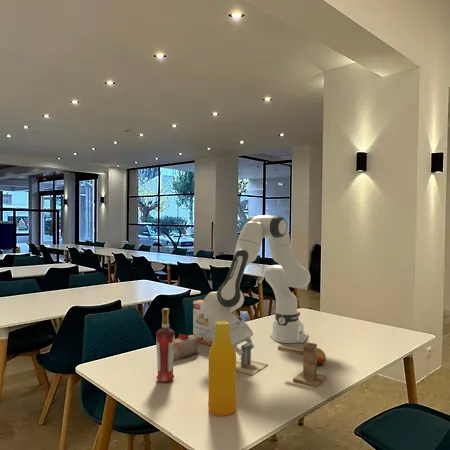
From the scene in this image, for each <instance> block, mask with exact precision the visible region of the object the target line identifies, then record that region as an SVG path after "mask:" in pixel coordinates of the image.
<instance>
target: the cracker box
mask: <svg viewBox="0 0 450 450" xmlns="http://www.w3.org/2000/svg"><path fill="white" fill-rule="evenodd" d="M203 300H204V299H197V300H193V302H192V306H193V307H192V309H193V310H192V318H193V319H192V325H193V328H192V330H193V331H192V335H194V336H195V337H197V340H198V343H199V344H203V345H206V346H210V347H212V345H213V343H214V339H215V330H216V325H215V322H214V320H213V319H211V318H210V316H209V315H208V314H207V312H206V310H205V309H204V306H203Z"/></svg>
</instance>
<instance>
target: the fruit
mask: <svg viewBox="0 0 450 450" xmlns="http://www.w3.org/2000/svg"><path fill="white" fill-rule="evenodd" d="M326 361H327V357H326V353H325V351H323V349H321V348H319V347H317V367H319V366H321V365H323V364H324V363H326Z"/></svg>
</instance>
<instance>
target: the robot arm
mask: <svg viewBox="0 0 450 450" xmlns="http://www.w3.org/2000/svg"><path fill="white" fill-rule="evenodd" d="M265 238H266V239H267V240H268V246H269V251H270V254H271V257H272V260H274V262H275V263H277V264H272V265H268V266H267V267H266V268H265V270H264V279H265V281H266V283H268V284H269V286H270V287H271V288H272V290H273V293H274V297H275V314H274V316H275V318H274V319H275V320H274V321H273V322H272V332H271V334H270V335H269V337H270V338H271V339H272V340H274V341H275V342H277V343H282V344H295V343H297V344H298V343H301V344H302V343H305V341H306V339H307V338H308V336H309V333H307V332H305V326H304V324H303V322H302V321H300V318H299V316H301V312H300V311H298V298H297V296H296V295H295V294H294V293H292V291H291V290H290V288H295V289H296V288H297V289H299V288H306V287H307V286H308V285H309V284H310V282H311V273H310V270H308V269H307V268H306V267H304V265H302V263H300V261H299V260H298V259H297V257H296V256H295V253H294V250H293V246H292V242H291V237H290V233H289V230H288V223H287V221H286V219H285V218H284V217H282V216H281V215H271V214H264V215H263V214H262V215H251V216H249V217H247V219H246V221H245V223H244V225H243V227H242V229H241V231H240V233H239V236H238V239H237V242H236V245H235V249H234V254H233V259H232V261H231V264H230V267H229V270H228V271H227V274H226V278H225V279H224V281H223V282H222V283H221V285H220V286H219V287H218V289H217V291H211V292H209V293H207V294H206V296H205V297H204V298H203V299H202V300H203V306H204V309H205V310H206V312H207V314H208V315H209V316H210V318H211V319H213V320H214V322H215V325H216V322H219V321H226V322H229V329H230V339H231V343H232V345H233V347H234V349H235V353H237V355H238V356H241V355H242V354H243V351H242V349H241V348H239V347H238V345H240V344H242V343H243V342H246V343H249V344H251V350H252V349H254V348H255V345H254V343H253V341H252V337H253V336H254V332H253V331H252V330H253V329H251V328H250V326H249V325H248V324H247V322H245V321H244V320H245V319H244V318H243V316H239V315H234V314H233V313H232V312H233V311H236V310H237V309H239V308H241V307H242V306H243V305H244V301H245V296H244V294H243V292H242V290H241V288H240V286H241V285H240V284H241V281H242V278H243V275H244V273H245V270H246V268H247V266H248V265H249V264H251V263H253V262H255V261H256V259H257V257H258V255H259V252H260V250H261V246H262V242H263V239H265Z"/></svg>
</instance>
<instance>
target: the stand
mask: <svg viewBox="0 0 450 450" xmlns="http://www.w3.org/2000/svg"><path fill="white" fill-rule="evenodd" d="M317 346H318V344H317V343H314V342H308V341H307V342H305V343H303V345H302V348H303V349H301V348H294V347H289V346H284V345H277V351H279V352H284V353H290V354H294V355H299V356H302V365H303V366H302V370H301V372H300V373H298V374H296V376H294V377H293V378H292V382H295V383H299V384H303V385H307V386H311V387H316V388H318V387H319V386H321V384H323V382H324V381H326V380H327V375H324V374H320V373H317V371H318V370H317V368H318V366H317V348H318V347H317Z"/></svg>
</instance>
